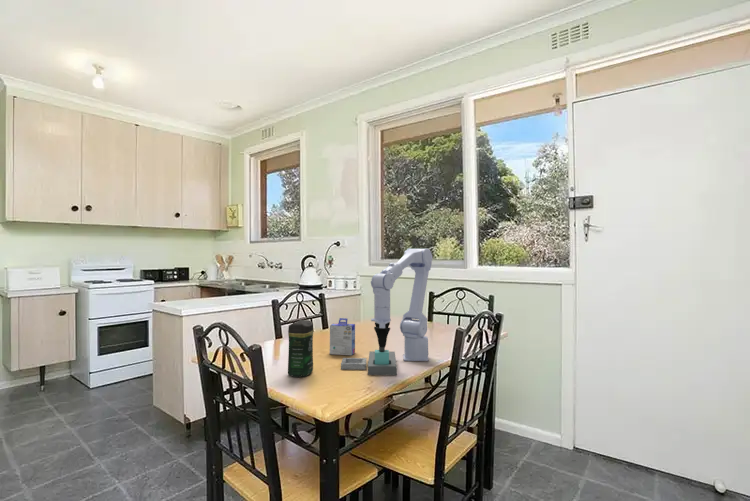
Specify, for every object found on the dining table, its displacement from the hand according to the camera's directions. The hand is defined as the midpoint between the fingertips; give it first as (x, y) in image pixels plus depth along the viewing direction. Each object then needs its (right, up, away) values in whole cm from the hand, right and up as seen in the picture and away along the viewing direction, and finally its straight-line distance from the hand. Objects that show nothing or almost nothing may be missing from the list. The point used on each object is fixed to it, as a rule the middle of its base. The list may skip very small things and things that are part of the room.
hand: (382, 344), depth 144 cm
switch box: (0, -9, +5) cm, 11 cm away
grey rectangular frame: (-10, -9, +5) cm, 15 cm away
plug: (0, -9, 0) cm, 9 cm away
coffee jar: (-29, -10, -4) cm, 30 cm away
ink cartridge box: (-16, -10, +23) cm, 30 cm away
